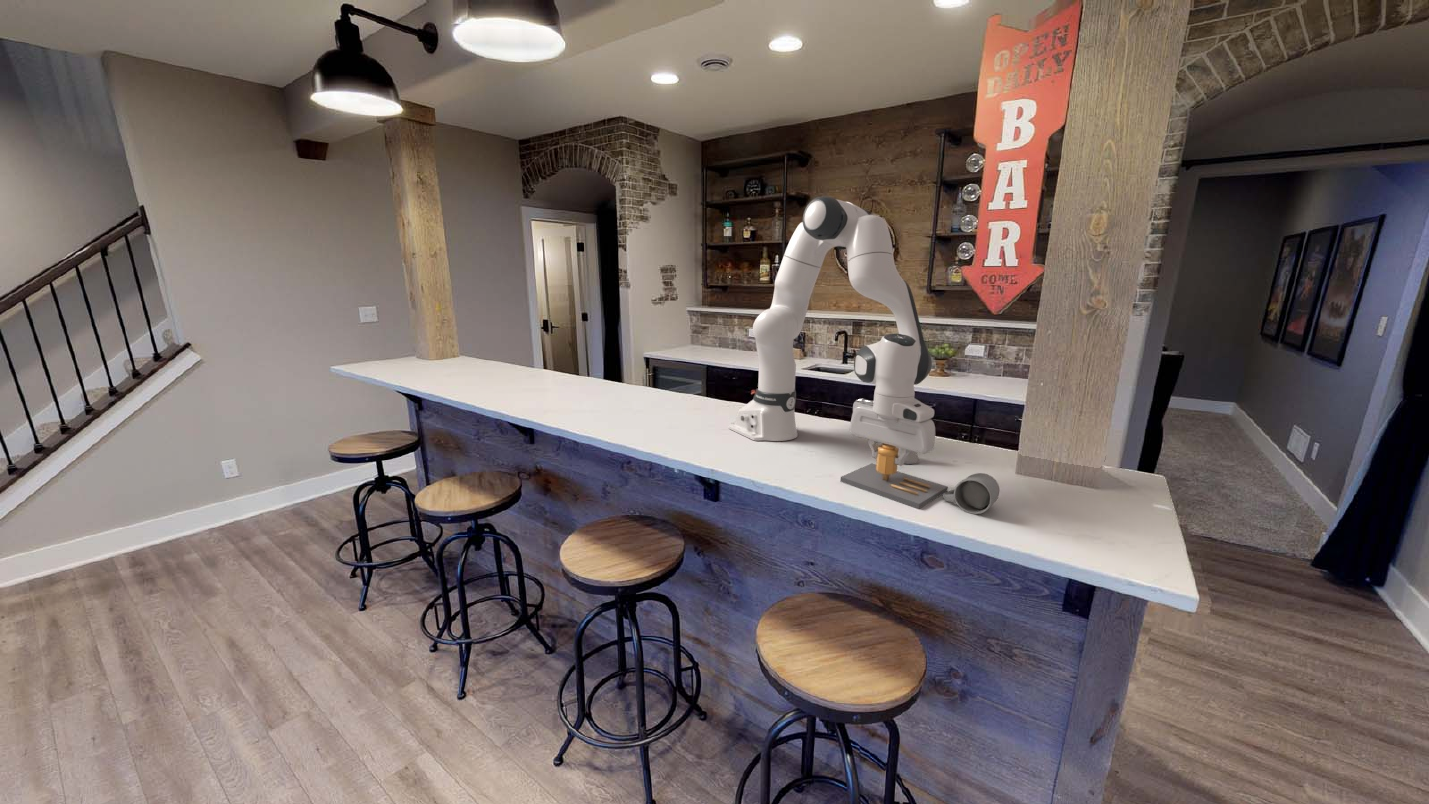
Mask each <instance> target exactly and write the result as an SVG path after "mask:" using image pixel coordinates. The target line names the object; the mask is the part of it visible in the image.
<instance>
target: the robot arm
mask: <svg viewBox="0 0 1429 804" xmlns="http://www.w3.org/2000/svg"><path fill="white" fill-rule="evenodd" d="M892 242H893V241H892V238H891V234H890V230H889V226H888V224H887V221H886V220H885V219H884V218H883V217H882V216H879V215H875V214H871V212H869V211H868V210H867V209H865V208H861V207H859V206H858V205H856V204H855V203H852V202H850V201H844V200H841V199H837V198H835V197H832V196H827V195H826V196H825V195H822V196H821V195H820V196H817V197H814V198H813V199H812V200H811V201H809V202H808V204H807V205H806V207H805V209H804V211H803V216H802V222H800V223H799V224H797V227H796V228H795V230H794V232H793V234H792V235H791V237H790V240H789V242H788V244H787V246H786V248H785V251H784V254H783V257H782V260H781V263H780V265H779V269H778V271H777V274H776V276H775V280H774V290H773V297H772V301H771V305H770V307H769V308H767V309H765V310H763V311H762V312H761V313H760V314H759V315H757V317H756V318H755V320H754V322H753V324H752V335H753V337H754V339H755V346H756V352H757V359H758V383H757V387H758V388H757V387H756V389H752V390H751V393H750V394H751V395H753V394H754V395H753V397H752V398H753V399H752V400H750V401H749V402H748V403H746V404H744V405H743V406H742V407H740V408H739V410H738V411H737V414H736V418H735V419H736V420H735V421H734V422H731V423H729V425H728V429H729V430H731V431H733V432H735V433H737V434H739V435H742V436H744V437H746V438H748V439H751V440H752V441H756V442H757V441H759V442H761V441H771V442H781V441H782V442H784V441H791V440H794V439H796V438H797V437H798V436H799V435H798V431H797V425H796V416H795V415H796V413H795V407H796V401H797V391H796V376H797V375H796V371H797V363H796V361H795V355H794V352H795V351H794V343H793V342H794V340H795V339H797V338H798V336H799V335H800V333H801V331H802V329H803V326H804V323H805V320H806V316H807V312H808V308H809V304H810V301H811V297H812V293H813V290H814V288H815V286H816V285H815V284H816V282H817V279H818V276H819V274H820V271H821V269H822V266H823V263H824V260H825V257H826V255H827V253H828V252H829V251H830V250H831V249H832V248H835V247H836V248H837V249H838V250H839V251H840V250H841V251H842V250H846V259H847V263H846V264H847V273H848V279H849V283H850V285H851V287H853V289H854V290H855V291H856V292H857V293H858V294H860V295H861V296H863V297H866V298H867V299H870V300H872V301H876V302H877V303H880V304H882V305H883V306H885V307H887V308H888V309H889V310H890V311H891V312H892V314H893V316H894V319H895V323H896V327H897V331H898V333H888V334H885V335H883V336H882V337H881V339H880V341H877V342H874V343H871V344H867V345H862V347H860V349H859V350H858V351H857V352H856V353H855V356H854V360H853V372H854V374H855V375H856V377H857V378H858V379H859V380H860V381H861V382H862V383H866V384H871V385H872V384H873V385H875V389H874V392H873V393H874V394H873V400H869V399H866V398H861V397H859V399H856V400H855V401H854V402H853V405H852V414H851V420H850V424H849V431H850V433H851V435H852V436H855V437H856V436H857V437H860V438H863V439H867V440H868V442H867V443H868V446H869V448H870V449H871V458H873V459H876V460H877V455H878V447H879V446H878V445H877V443H878V444H879V443H882V444H883V443H884V444H888V445H892V446H895V447H899V448H900V452H902V454H901V455H900V456H897V457H895V462H894V464H896V465H897V466H898V467H899V466H900V467H902V466H904V465H905V463H904V458H905V457H906V456H907V455H908V453H909V452H910V451H914V452H917V454H921V455H925V454H928V453H930V452H931V451H933V450H934V448H935V444H936V426H935V422H934V421H933V420H932V418H934V416H935V409H934V408H932V407H931V406H929V405H927V404H926V403H923V402H921V401H920V400H918V399H917V398H915V394H916V393H915V392H916V391H915V386H916V385H919V384H921V383H922V382H923V381H924V380H925V379H926V378H927V377H928V376H929V374H930V372H931V371H932V366H933V360H932V356H931V353H930V350H929V348H928V346H927V344H926V341H925V339H924V335H923V331H922V326H921V323H920V318H919V314H918V310H917V307H916V306H917V305H916V303H915V299H914V296H913V292H912V289H911V287H910V285H909V283H908V282H907V281H905V280H904V279H903V278H902V276H901V275H900V273H899V271H898V270H897V267H896V264H895V259H894V249H893V243H892Z"/></svg>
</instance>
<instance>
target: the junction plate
mask: <svg viewBox="0 0 1429 804" xmlns="http://www.w3.org/2000/svg"><path fill="white" fill-rule="evenodd" d="M876 465H877V463H876V464H875V463H873V462H872V463H869V464H866V465H865V466H862V467H860V468H858V469H856V470H854V471H851V472H849V473H847V474H844V475H841V476H840V483H843V484H846V485H848V486H849V485H850V486H851V487H854V488H858V489H860V490H863V491H867V492H869V493H871V494H875V495H878V496H880V497H883V498H886V499H889V500H892V501H895V502H898V503H900V504H902V505H903V504H904V505H906V506H909V507H912V508H915V509H916V510H918V509H921V508H923V507H924V506H926V505H928V504H929V503H931V502H933V501H934V500H936V499H937V498H939V497H940V496H943V494H944V493H945V492H947V491H949V490H948V488H949V487H948V486H947V485H943V484H942V483H941V484H940V483H937V482H933V481H931V480H927V479H924V478H921V477H917V476H915V475H911V474H908V473H905V472H901V471H899V470H897V473H895V474H883V473H880V472H878V471H877V470H876Z"/></svg>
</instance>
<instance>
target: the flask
mask: <svg viewBox="0 0 1429 804" xmlns="http://www.w3.org/2000/svg"><path fill="white" fill-rule="evenodd" d="M898 448H899V447H898ZM901 454H902V452H900V448H899V452H898V456H900V455H901ZM919 461H920V460H919V456H918V453H917V452H914V451H910V452H909V453H908V455H907V456H906V457H905V458H904V465H905V464H907V465H913V464H914V465H915V464H919Z"/></svg>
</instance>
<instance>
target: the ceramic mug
mask: <svg viewBox="0 0 1429 804" xmlns="http://www.w3.org/2000/svg"><path fill="white" fill-rule="evenodd" d="M942 496H943V498H944V501H945V502H950V503H951V502H955V503H956V504H957V506H958V507H959V508H960V509H961V510H963V511H964V512H966V513H968V514H972V515H980V514H983V513H986V512H987V511H988V510H990V508H991V507H992V506H993V505H994V503H995V502H997V500H998V499H999V496H1000V486H999V483H998V482H997V480H996V479H995V478H994V477H993V476H991V475H989V474H987V473H982V472H980V473H979V472H976V473H972V474H971V475H969V476H967V477H966V478H963V479H962V480H961V481H959V482H958V483H957V484H956V486H955V487H954V489H950V490H947V492H945V493H944V494H942Z"/></svg>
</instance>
